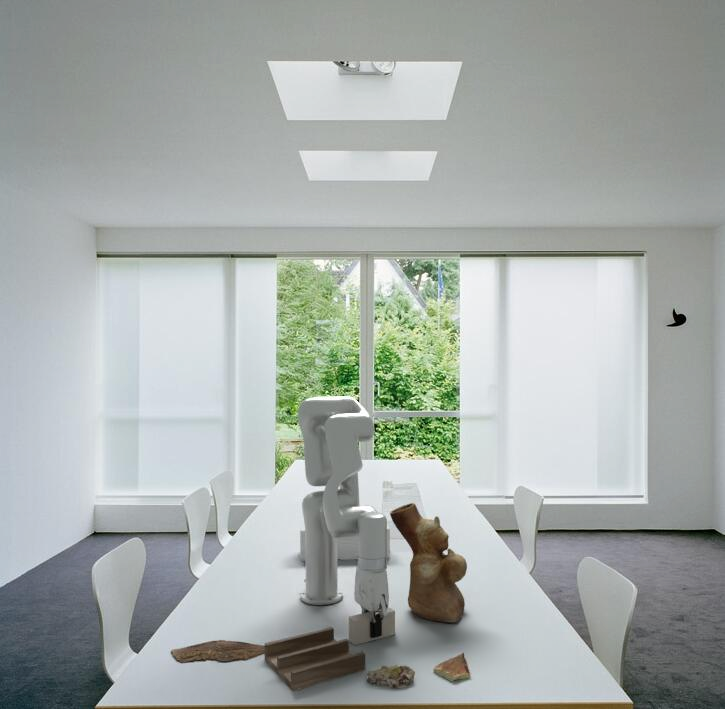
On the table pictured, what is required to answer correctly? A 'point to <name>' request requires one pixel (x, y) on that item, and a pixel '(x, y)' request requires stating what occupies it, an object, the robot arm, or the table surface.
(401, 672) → the mineral rock
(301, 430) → the robot arm
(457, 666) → the shard
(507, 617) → the table surface
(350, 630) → the strip
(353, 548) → the white long block
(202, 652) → the wooden fragment
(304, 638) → the walnut rack
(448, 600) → the ceramic vessel
